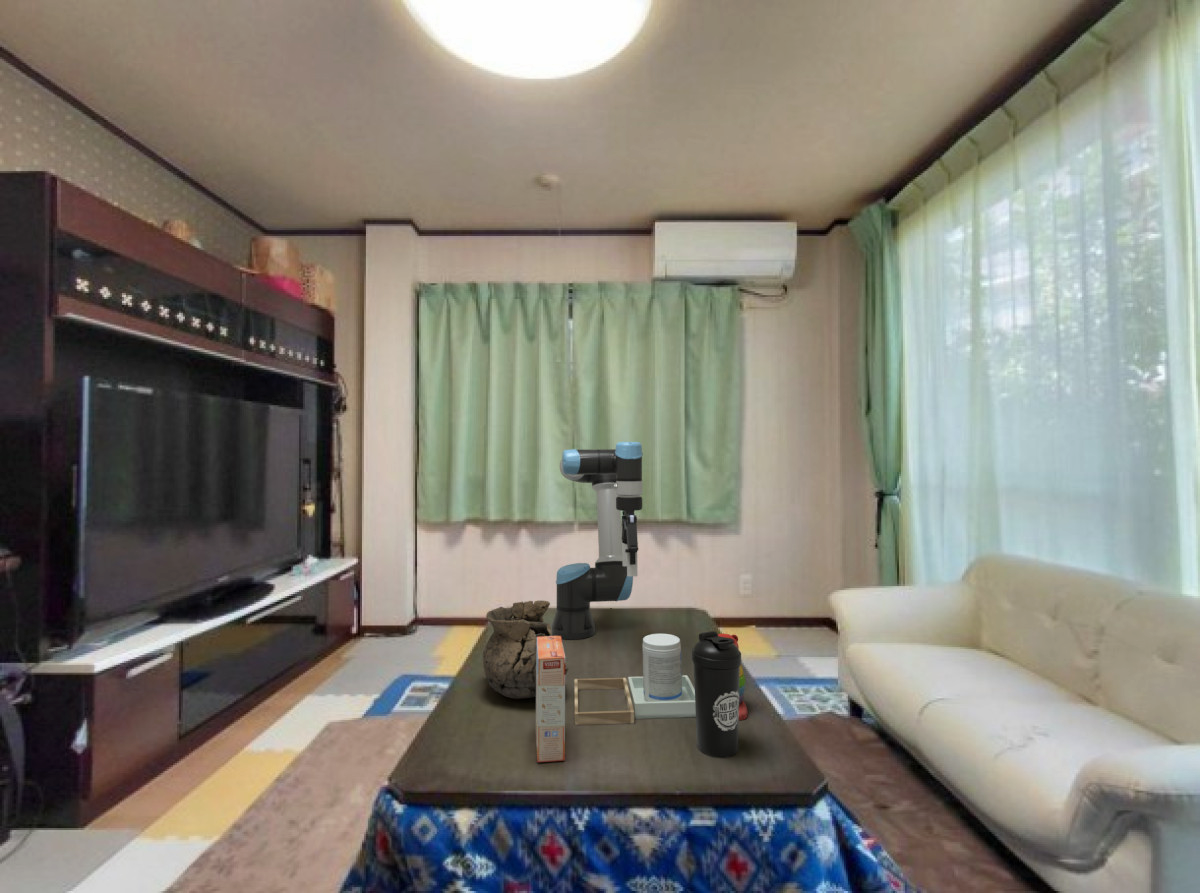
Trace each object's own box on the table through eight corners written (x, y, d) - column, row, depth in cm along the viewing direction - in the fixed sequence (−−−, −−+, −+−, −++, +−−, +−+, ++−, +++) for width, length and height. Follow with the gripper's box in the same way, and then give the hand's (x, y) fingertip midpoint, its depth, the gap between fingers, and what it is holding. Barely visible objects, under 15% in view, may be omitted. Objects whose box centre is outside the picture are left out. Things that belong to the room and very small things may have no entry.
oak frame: (574, 688, 144) (574, 679, 144) (625, 687, 144) (625, 677, 144) (574, 725, 124) (574, 713, 124) (634, 723, 125) (634, 712, 125)
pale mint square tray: (628, 690, 142) (628, 676, 142) (687, 688, 143) (687, 675, 143) (635, 718, 127) (634, 703, 127) (701, 716, 128) (701, 701, 128)
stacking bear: (698, 714, 129) (697, 638, 129) (706, 696, 138) (705, 626, 139) (745, 722, 125) (744, 643, 125) (750, 703, 134) (749, 630, 135)
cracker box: (566, 762, 109) (566, 656, 110) (536, 764, 108) (536, 658, 109) (562, 727, 123) (562, 634, 123) (535, 729, 122) (535, 635, 123)
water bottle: (711, 764, 108) (710, 647, 108) (683, 740, 117) (682, 632, 118) (752, 753, 112) (751, 640, 112) (722, 730, 121) (721, 626, 122)
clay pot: (487, 673, 154) (487, 597, 155) (571, 672, 155) (570, 596, 155) (467, 715, 129) (466, 623, 130) (566, 713, 130) (566, 622, 130)
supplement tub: (690, 700, 134) (689, 640, 134) (660, 711, 129) (659, 648, 129) (664, 687, 142) (663, 630, 143) (635, 696, 137) (634, 637, 137)
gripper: (612, 493, 168) (613, 562, 167) (619, 499, 143) (620, 581, 143) (636, 492, 168) (637, 562, 168) (648, 499, 143) (648, 580, 143)
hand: (629, 570), depth 155 cm, fingers open, 13 cm apart
